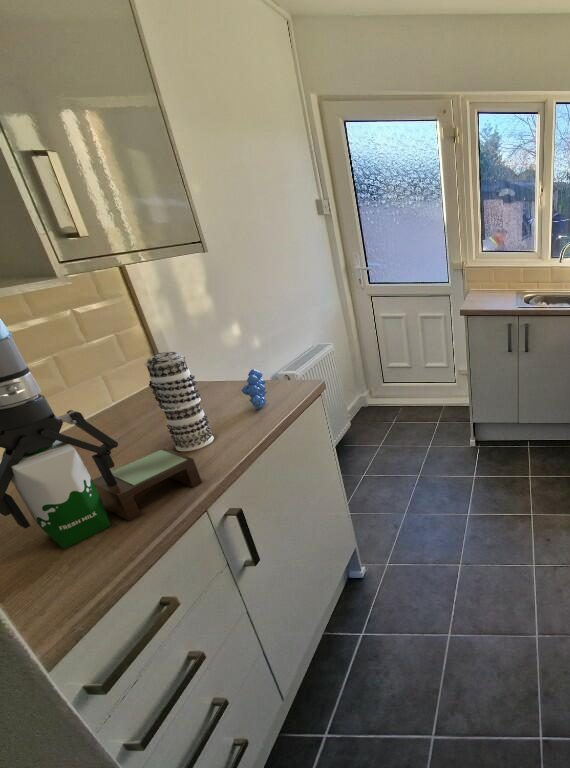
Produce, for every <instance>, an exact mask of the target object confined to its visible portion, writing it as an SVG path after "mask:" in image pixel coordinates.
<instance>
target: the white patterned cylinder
mask: <svg viewBox="0 0 570 768" xmlns="http://www.w3.org/2000/svg"><path fill="white" fill-rule="evenodd" d="M186 358H187V357H186V356H185V355H181V354H180V353H179V352H176V351H164V352H159V353H155V354H153V355H150V356H149V357H148V359H147V361H146V362H144V364H143V365H144V367H146V368H147V371H148V373H149V375H148V376H149V379H150V380H149V383H148V386H149V388H150V389H152V394H153V395H154V400H155V401H156V402H157V403H158V407H159V409H160V410H161V411H163V412H164V415H165V421H166V422H167V424H166V427H167V429H168V433H169V434H170V438H171V440H172V441H173V442H172V443H173V445H174V446H175V450H176V451H178V452H191V451H195V450H196V451H197V450H199V449H202V448H205V447H206V446H209V445H210V444H212V442H214V439H215V437H214V435H213V432H212V430H211V429H212V427H211V426H210V424H209V423H210V422H209V420H208V419H207V418H208V416H207V414H206V413H205V411H204V409H203V408H202V406H201V403H200V402H201V394H200V393H198V392H199V388H198V387H195V386H196V385H197V381H196V380H195V378H196V376H195V375H192V374H191V371H190V368H189V367H188V365H187V361H186Z"/></svg>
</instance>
